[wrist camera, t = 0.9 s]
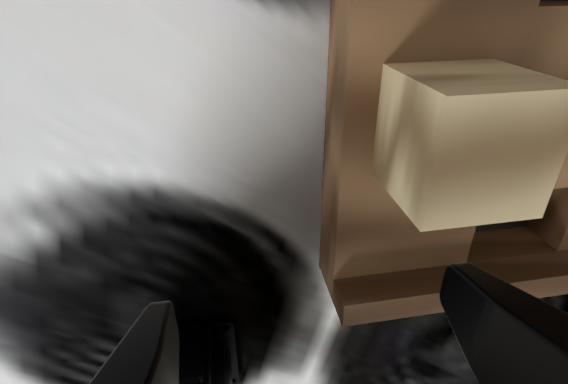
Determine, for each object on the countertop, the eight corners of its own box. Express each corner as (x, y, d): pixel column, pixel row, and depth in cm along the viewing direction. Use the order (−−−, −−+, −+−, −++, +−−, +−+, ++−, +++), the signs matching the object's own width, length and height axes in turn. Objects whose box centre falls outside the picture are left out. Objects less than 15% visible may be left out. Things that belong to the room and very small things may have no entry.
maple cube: (467, 163, 19) (542, 218, 15) (370, 172, 18) (420, 232, 14) (493, 58, 17) (591, 87, 12) (383, 63, 16) (447, 96, 12)
